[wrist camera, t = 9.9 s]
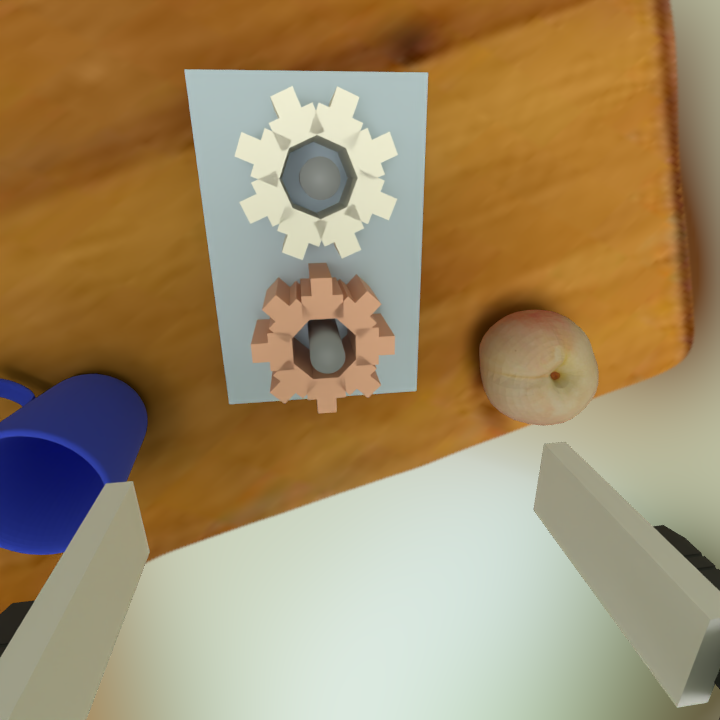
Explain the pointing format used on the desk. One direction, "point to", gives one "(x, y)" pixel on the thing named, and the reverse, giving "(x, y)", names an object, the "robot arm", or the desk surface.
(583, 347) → the fruit
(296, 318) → the loose gear
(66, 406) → the mug
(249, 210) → the gear
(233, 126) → the gear board
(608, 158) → the desk surface
